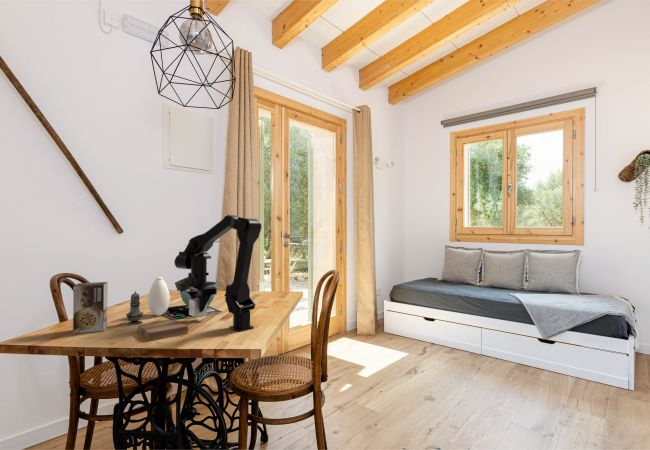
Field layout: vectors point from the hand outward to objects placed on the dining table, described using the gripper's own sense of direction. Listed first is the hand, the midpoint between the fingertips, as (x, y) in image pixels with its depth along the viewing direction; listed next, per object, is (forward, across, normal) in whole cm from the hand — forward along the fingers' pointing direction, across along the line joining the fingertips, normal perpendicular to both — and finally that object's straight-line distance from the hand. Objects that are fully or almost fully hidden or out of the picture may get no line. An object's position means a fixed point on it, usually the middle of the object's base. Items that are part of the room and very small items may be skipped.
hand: (198, 310), depth 137 cm
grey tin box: (+2, 0, 0) cm, 2 cm away
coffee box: (+4, -12, -33) cm, 35 cm away
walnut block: (+4, +8, -16) cm, 18 cm away
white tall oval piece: (+4, -19, -8) cm, 21 cm away
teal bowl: (+4, -22, +10) cm, 25 cm away
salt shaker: (+4, -12, -19) cm, 23 cm away
